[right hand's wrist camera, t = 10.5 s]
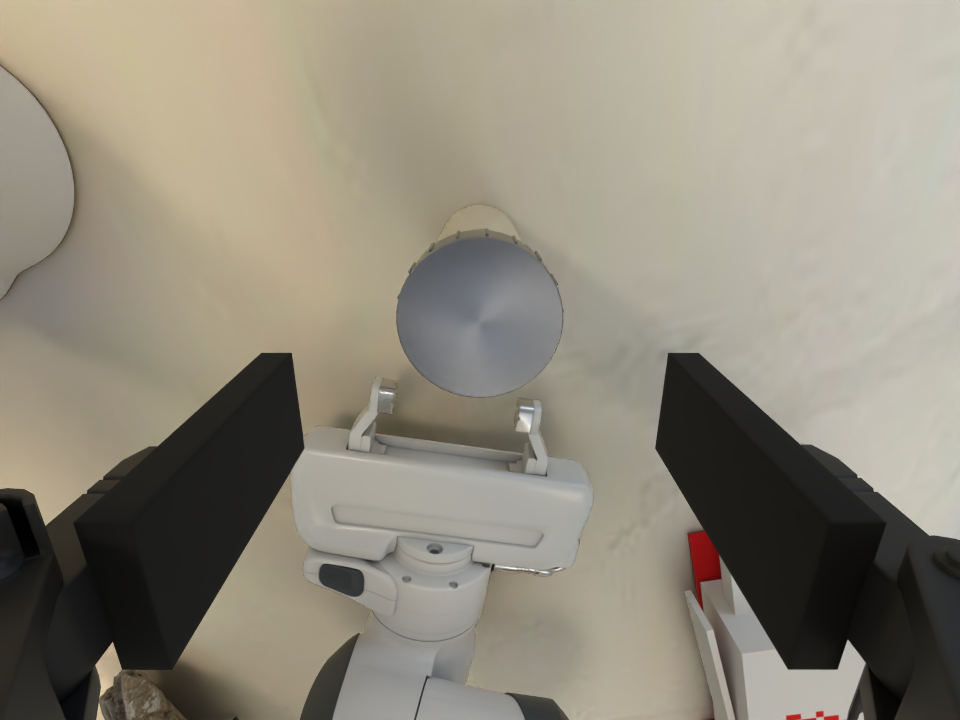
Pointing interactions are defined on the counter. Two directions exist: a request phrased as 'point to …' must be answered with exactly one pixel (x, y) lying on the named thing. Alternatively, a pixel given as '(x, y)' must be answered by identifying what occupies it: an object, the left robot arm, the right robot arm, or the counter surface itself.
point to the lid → (479, 314)
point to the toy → (757, 655)
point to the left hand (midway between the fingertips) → (458, 392)
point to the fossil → (136, 700)
